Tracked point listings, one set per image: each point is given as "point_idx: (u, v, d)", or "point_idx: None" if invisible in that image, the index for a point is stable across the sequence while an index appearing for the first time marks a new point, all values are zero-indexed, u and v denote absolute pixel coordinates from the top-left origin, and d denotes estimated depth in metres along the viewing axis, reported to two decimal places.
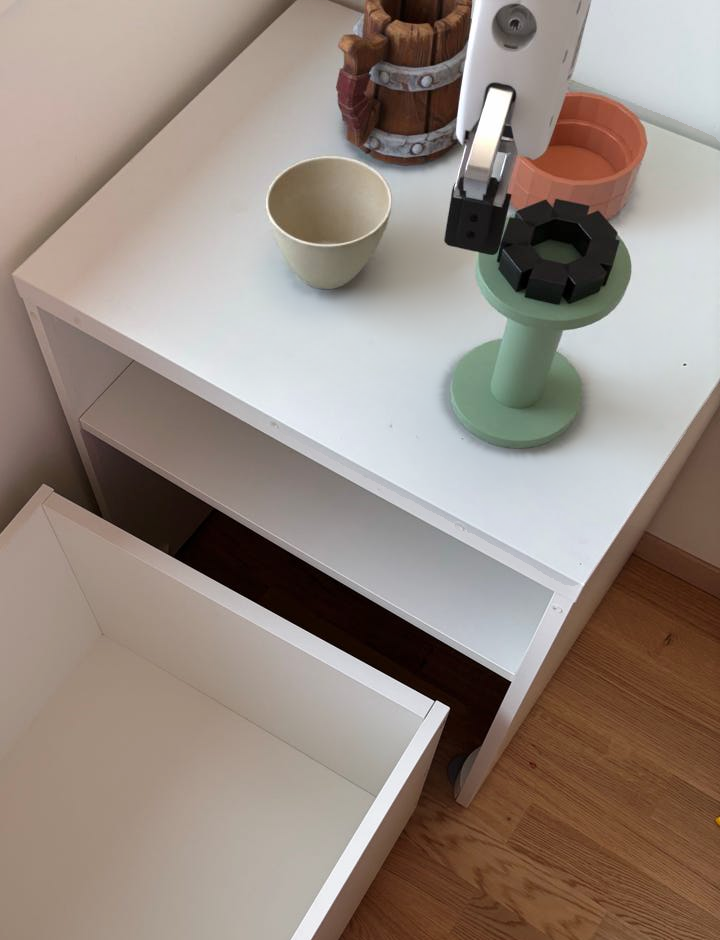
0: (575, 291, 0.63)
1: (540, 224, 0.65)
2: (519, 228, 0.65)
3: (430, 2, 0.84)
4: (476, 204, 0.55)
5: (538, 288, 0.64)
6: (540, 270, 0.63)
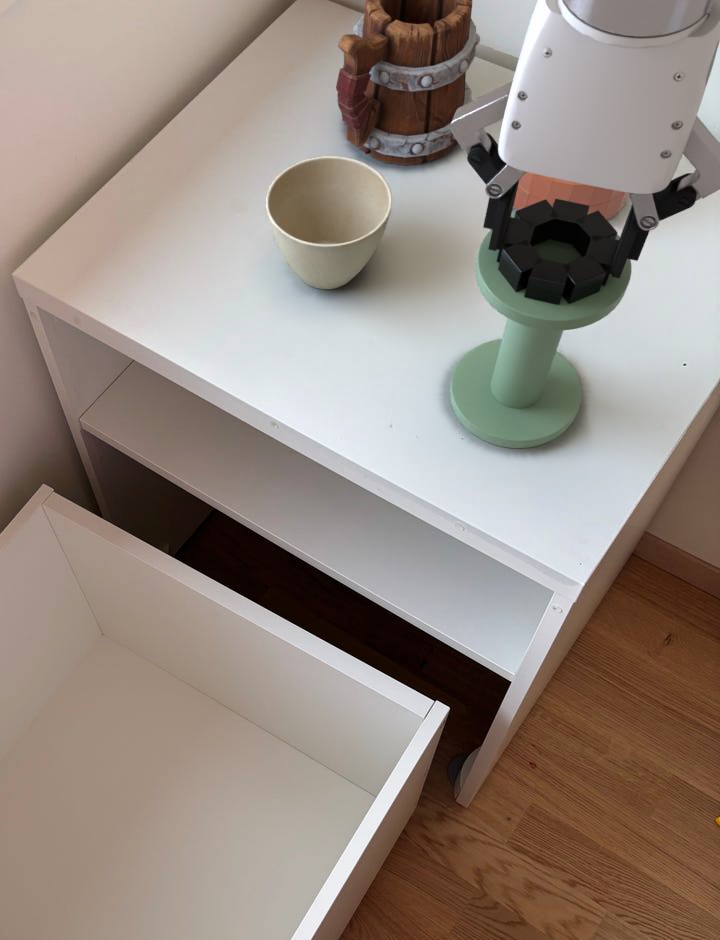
0: (575, 291, 0.63)
1: (539, 224, 0.65)
2: (519, 228, 0.65)
3: (430, 2, 0.84)
4: None
5: (538, 288, 0.64)
6: (540, 270, 0.63)
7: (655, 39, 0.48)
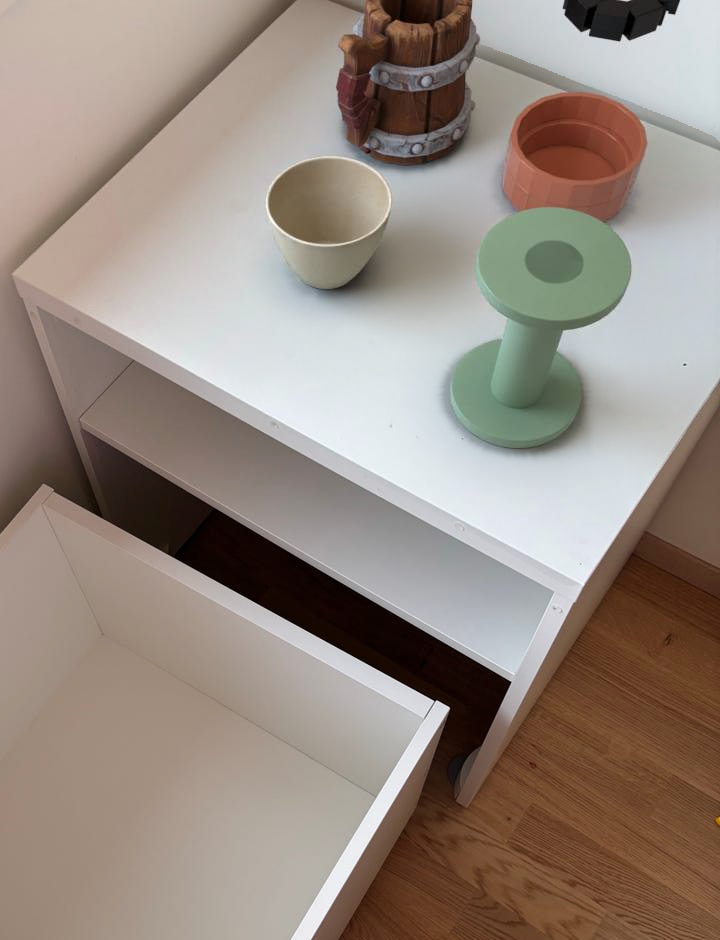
0: (635, 25, 0.71)
1: None
2: None
3: (430, 2, 0.84)
4: None
5: (602, 24, 0.71)
6: (604, 6, 0.71)
7: None
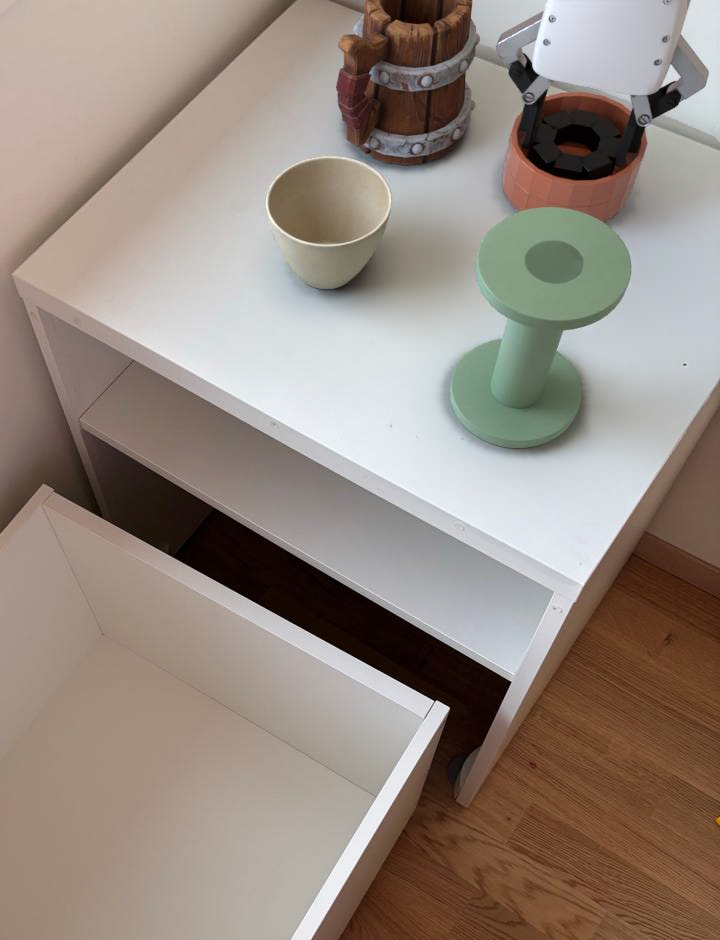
0: (588, 177, 0.82)
1: (561, 127, 0.84)
2: (545, 131, 0.84)
3: (430, 2, 0.84)
4: None
5: (560, 175, 0.83)
6: (561, 161, 0.82)
7: None
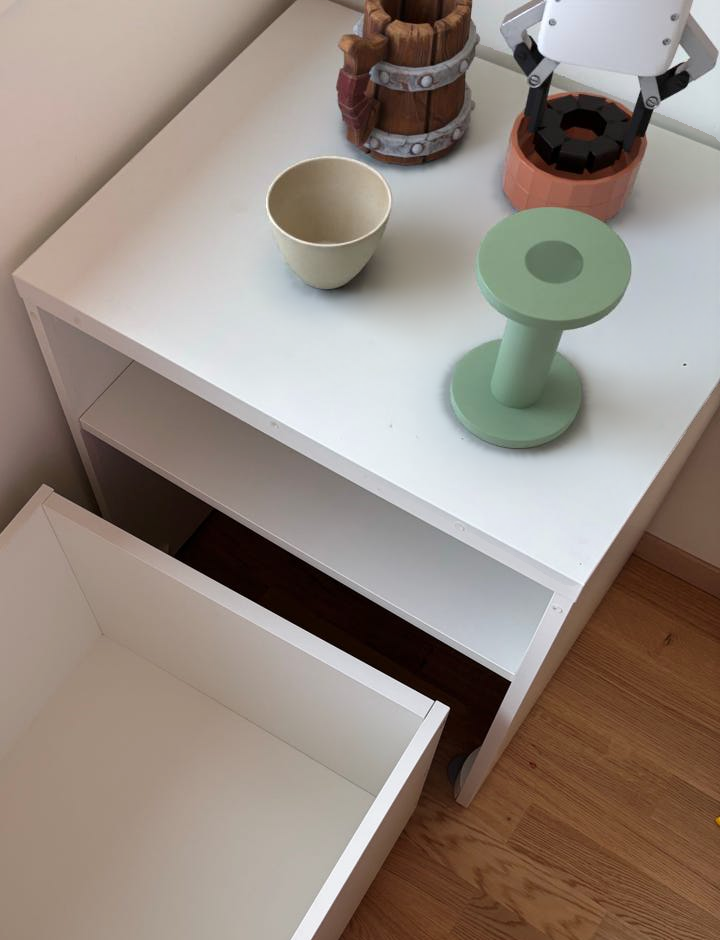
0: (595, 162, 0.81)
1: (567, 112, 0.82)
2: (550, 115, 0.82)
3: (430, 2, 0.84)
4: None
5: (566, 160, 0.81)
6: (568, 146, 0.81)
7: None
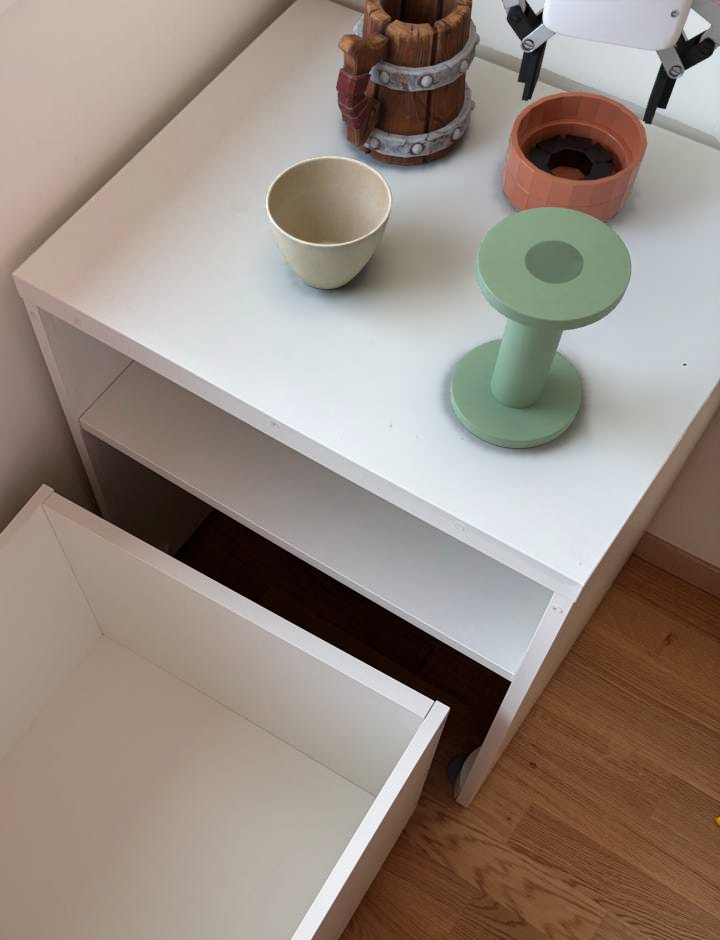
0: None
1: (554, 152, 0.86)
2: (539, 155, 0.86)
3: (430, 2, 0.84)
4: None
5: None
6: None
7: None
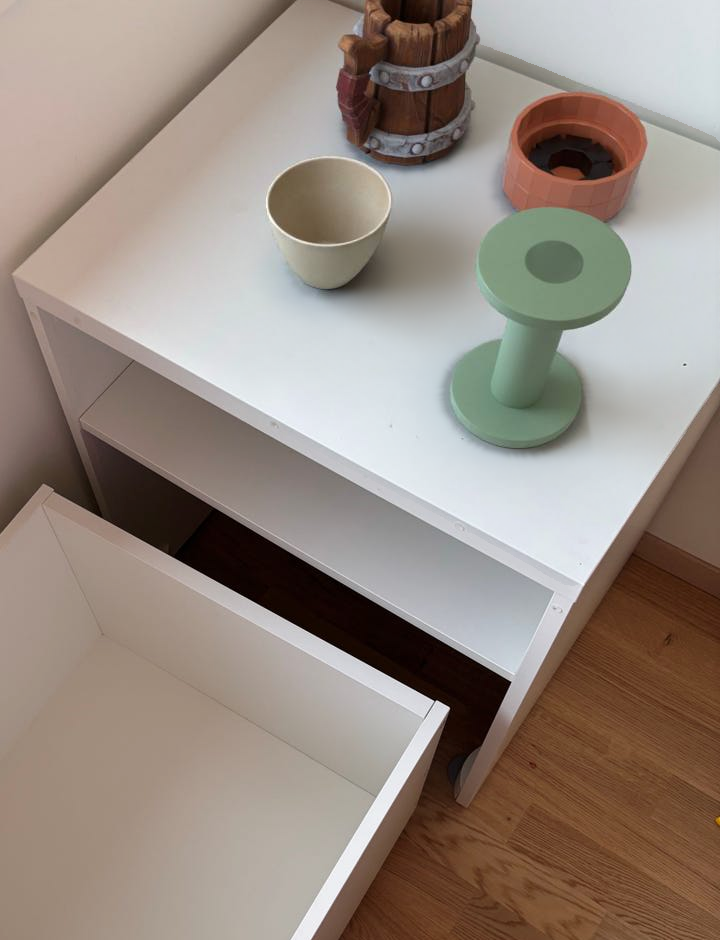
0: None
1: (554, 152, 0.86)
2: (539, 155, 0.86)
3: (430, 2, 0.84)
4: None
5: None
6: None
7: None
